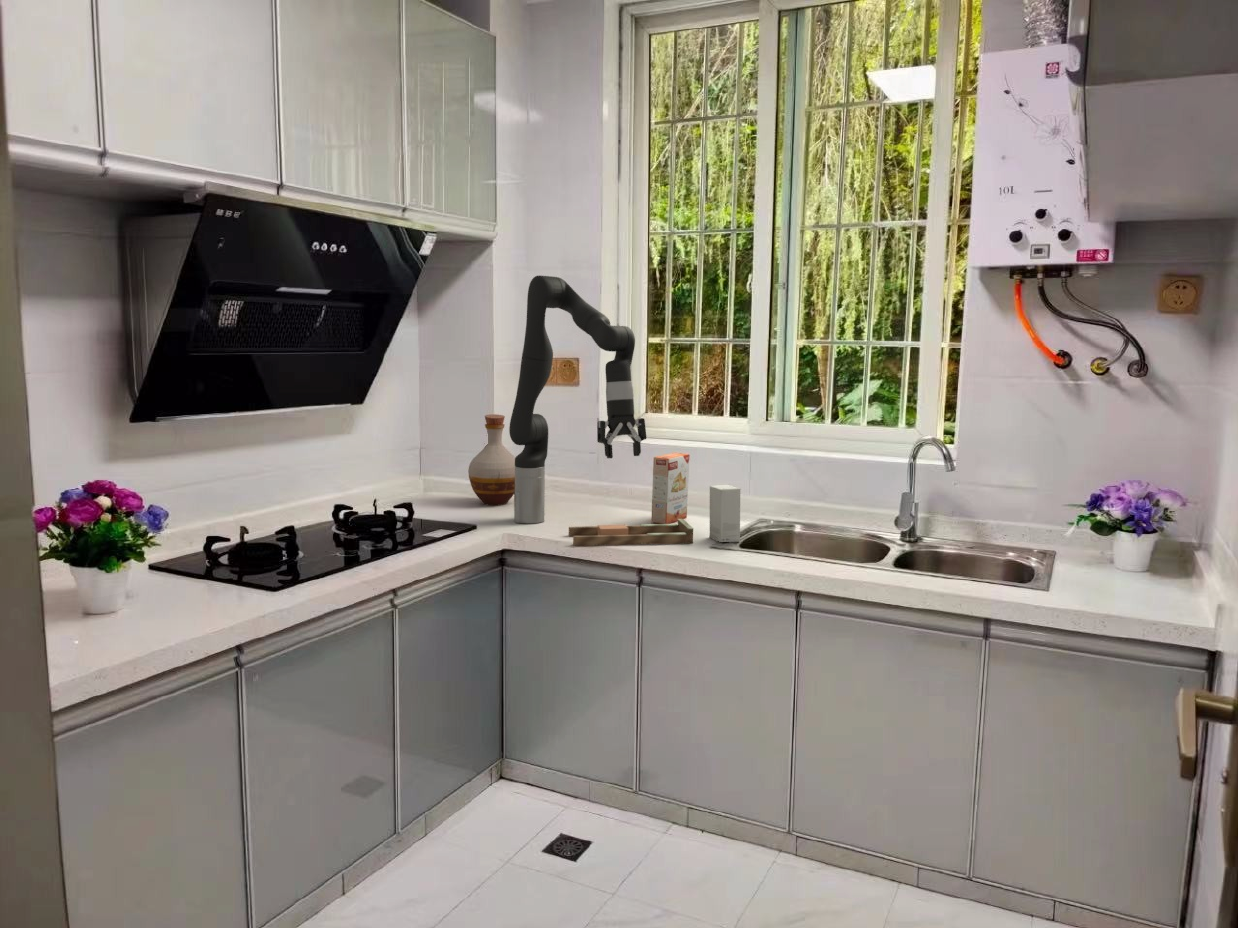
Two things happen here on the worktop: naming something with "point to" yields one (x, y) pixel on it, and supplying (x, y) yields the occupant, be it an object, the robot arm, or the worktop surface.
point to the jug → (493, 466)
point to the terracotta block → (612, 530)
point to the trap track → (635, 535)
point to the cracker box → (670, 488)
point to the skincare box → (725, 513)
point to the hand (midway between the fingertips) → (623, 457)
